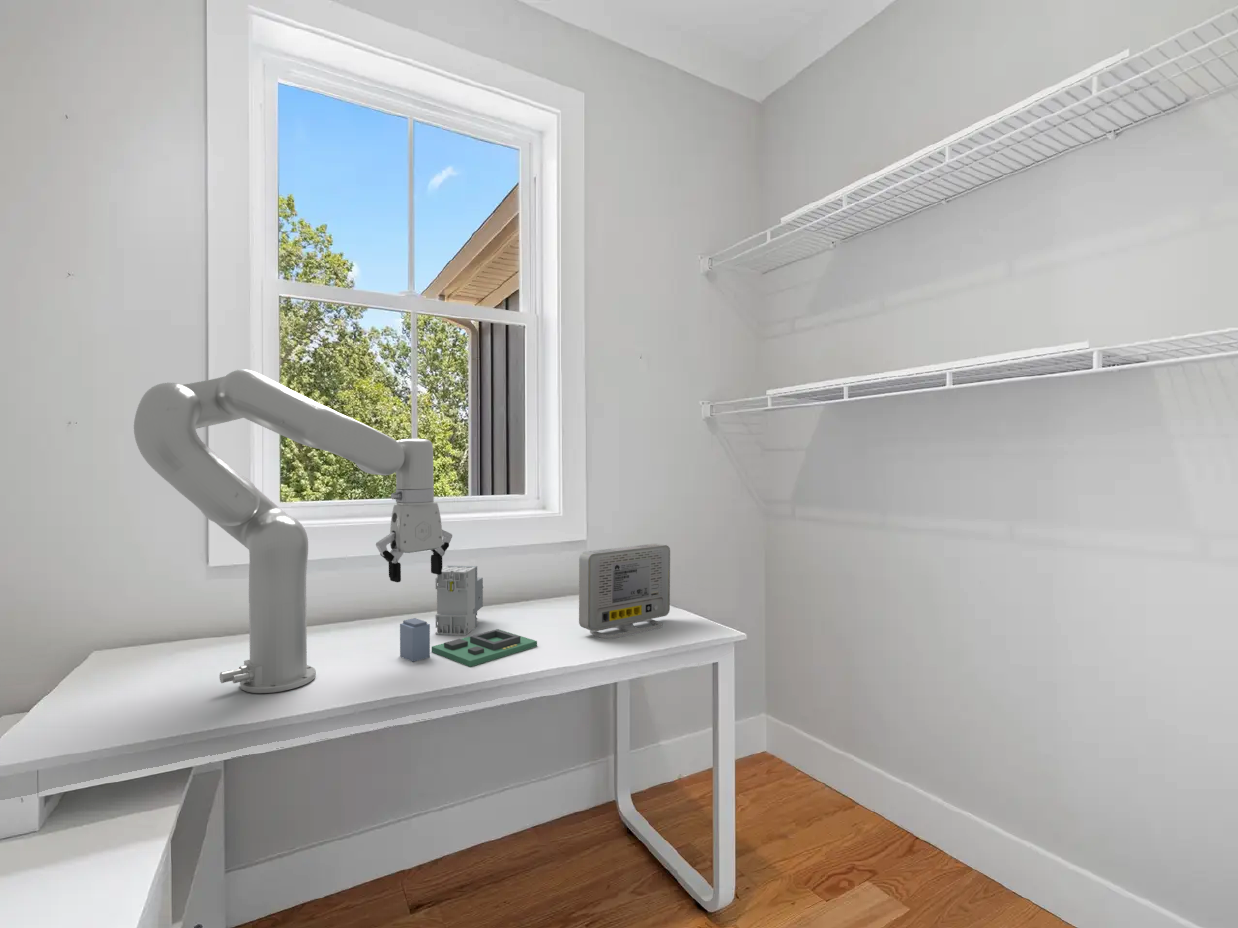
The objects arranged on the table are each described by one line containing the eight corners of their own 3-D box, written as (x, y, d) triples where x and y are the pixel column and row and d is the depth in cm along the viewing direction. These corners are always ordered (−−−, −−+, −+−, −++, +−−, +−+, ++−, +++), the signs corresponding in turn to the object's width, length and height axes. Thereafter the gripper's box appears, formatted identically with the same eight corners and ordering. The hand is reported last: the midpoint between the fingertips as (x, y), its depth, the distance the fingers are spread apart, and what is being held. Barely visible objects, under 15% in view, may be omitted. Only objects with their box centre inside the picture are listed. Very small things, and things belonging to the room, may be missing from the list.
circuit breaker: (484, 619, 164) (484, 561, 164) (466, 635, 150) (466, 572, 150) (456, 618, 165) (456, 561, 165) (435, 634, 151) (435, 571, 150)
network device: (654, 617, 167) (655, 541, 167) (676, 624, 160) (677, 545, 160) (573, 633, 152) (573, 550, 151) (594, 642, 145) (595, 555, 144)
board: (470, 666, 128) (470, 654, 128) (431, 651, 138) (431, 640, 137) (537, 646, 142) (537, 634, 142) (497, 633, 151) (497, 623, 151)
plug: (412, 661, 131) (412, 625, 131) (399, 656, 135) (399, 620, 135) (429, 656, 134) (429, 621, 134) (416, 651, 138) (416, 617, 138)
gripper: (386, 501, 125) (387, 587, 125) (460, 495, 138) (461, 573, 138) (367, 498, 130) (368, 581, 130) (440, 493, 143) (441, 569, 143)
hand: (416, 577), depth 134 cm, fingers open, 9 cm apart
